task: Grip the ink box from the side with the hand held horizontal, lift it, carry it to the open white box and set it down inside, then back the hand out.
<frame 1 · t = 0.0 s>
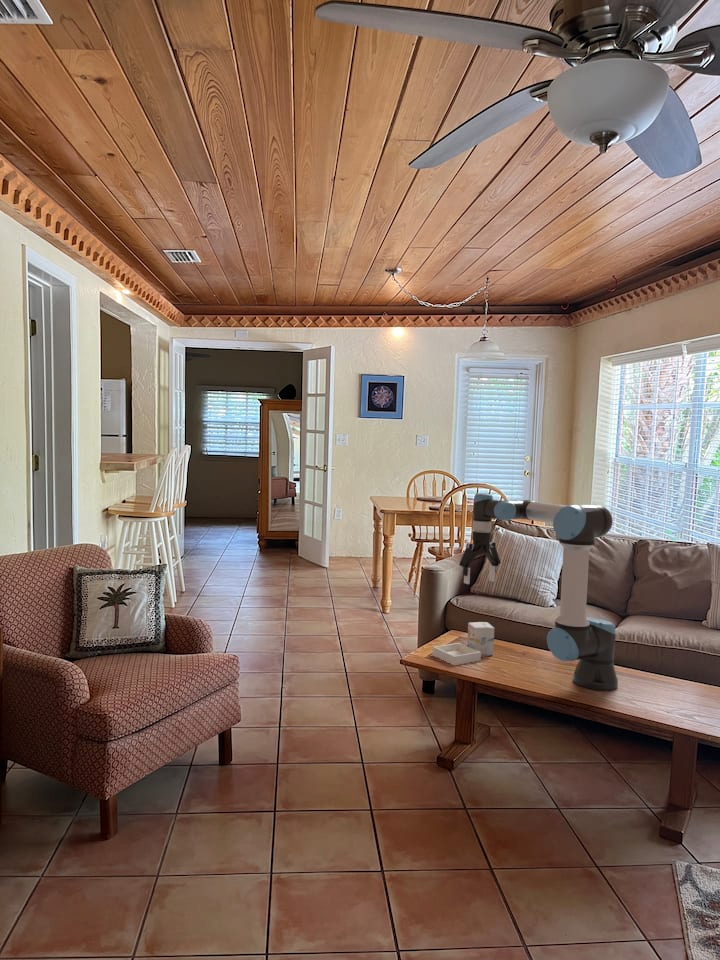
hand: (479, 582, 270), 28 cm above the table, tool pointing down, fingers open, 13 cm apart
open white box: (456, 658, 259), on the table
ink box: (479, 653, 267), on the table
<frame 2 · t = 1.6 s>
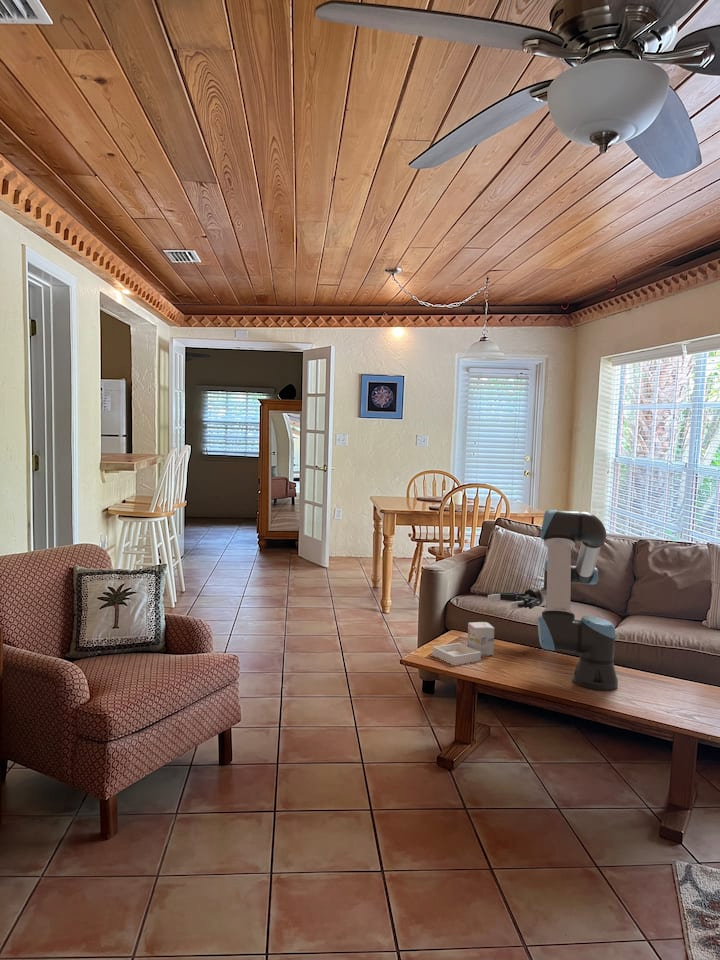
hand: (499, 602, 271), 20 cm above the table, tool horizontal, fingers open, 13 cm apart
nothing on the table moved.
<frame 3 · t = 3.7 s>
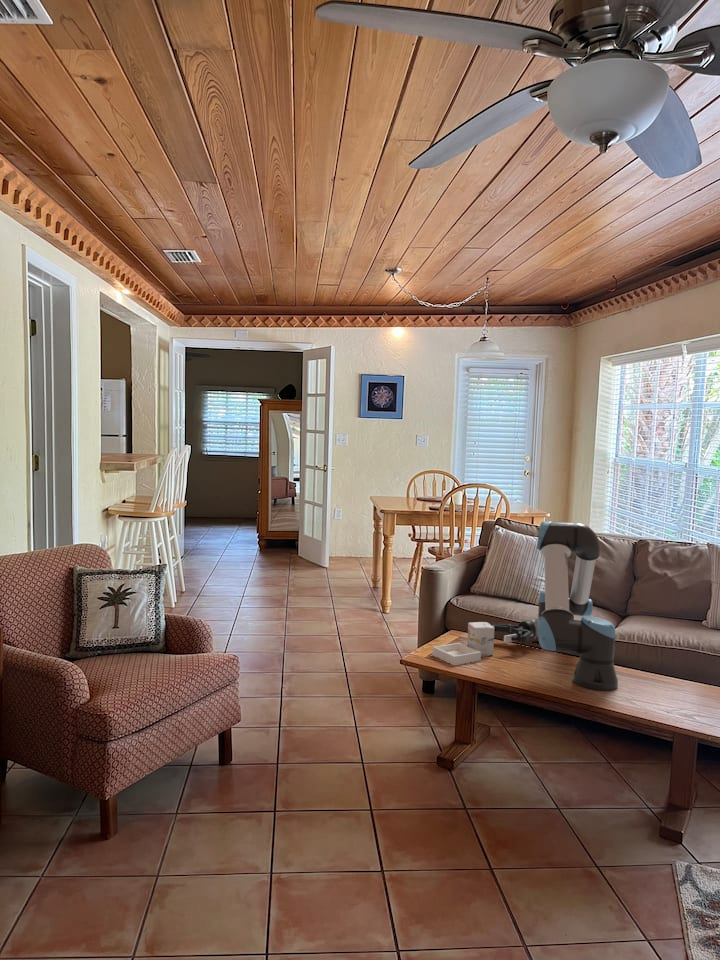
hand: (492, 634, 271), 6 cm above the table, tool horizontal, fingers open, 13 cm apart
nothing on the table moved.
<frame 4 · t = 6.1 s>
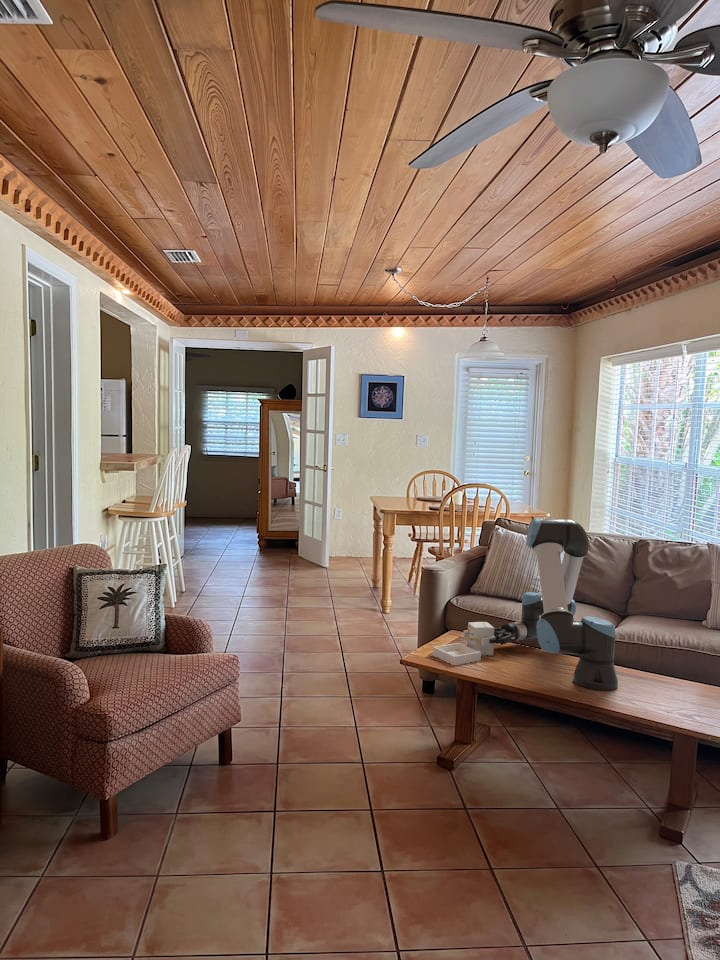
hand: (472, 638, 265), 7 cm above the table, tool horizontal, fingers closed on ink box, 10 cm apart
ink box: (479, 653, 268), on the table, touching gripper
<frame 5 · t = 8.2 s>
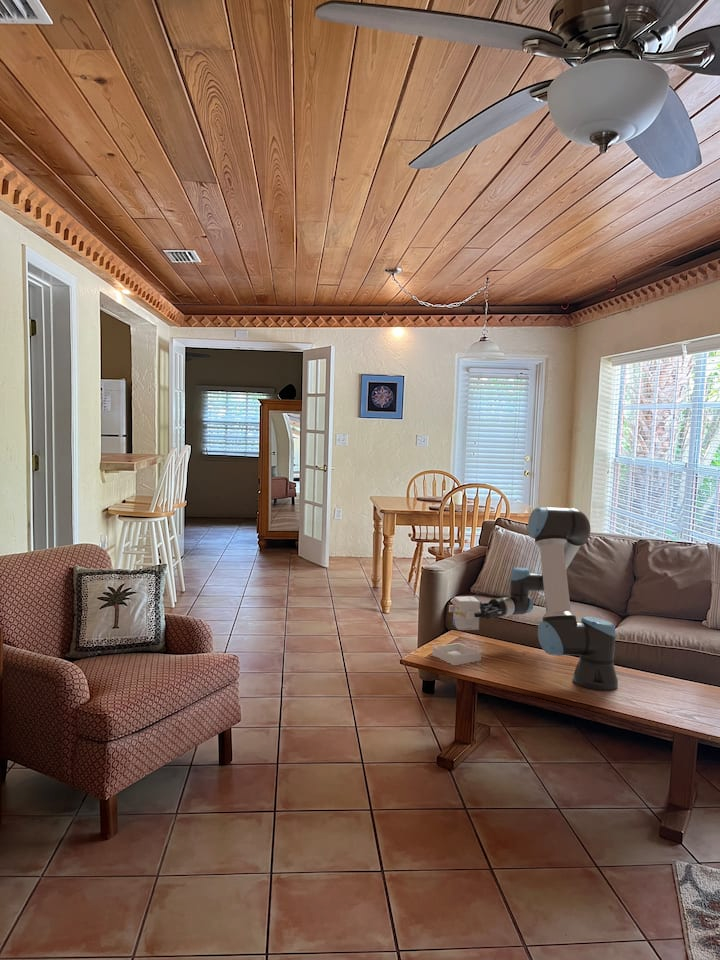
hand: (458, 612, 261), 18 cm above the table, tool horizontal, fingers closed on ink box, 10 cm apart
ink box: (465, 627, 263), point 11 cm above the table, touching gripper
when the fingers open (9 cm above the table, at t = 10.7 s): ink box drops 2 cm, resting on open white box.
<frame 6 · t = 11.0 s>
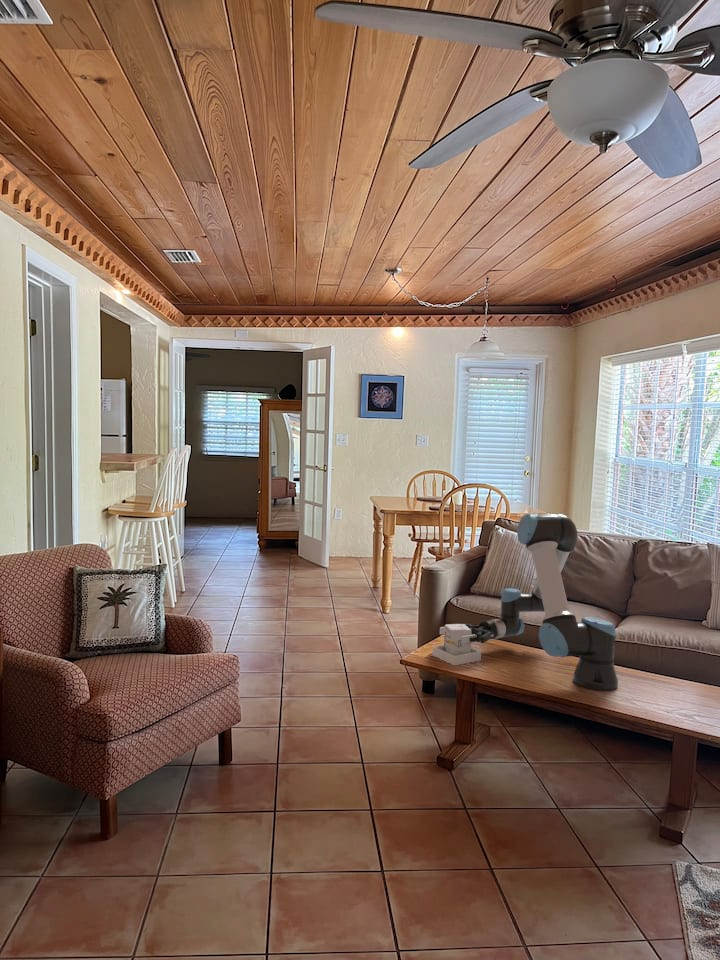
hand: (450, 635, 257), 9 cm above the table, tool horizontal, fingers open, 13 cm apart
ink box: (456, 656, 259), point 1 cm above the table, touching open white box
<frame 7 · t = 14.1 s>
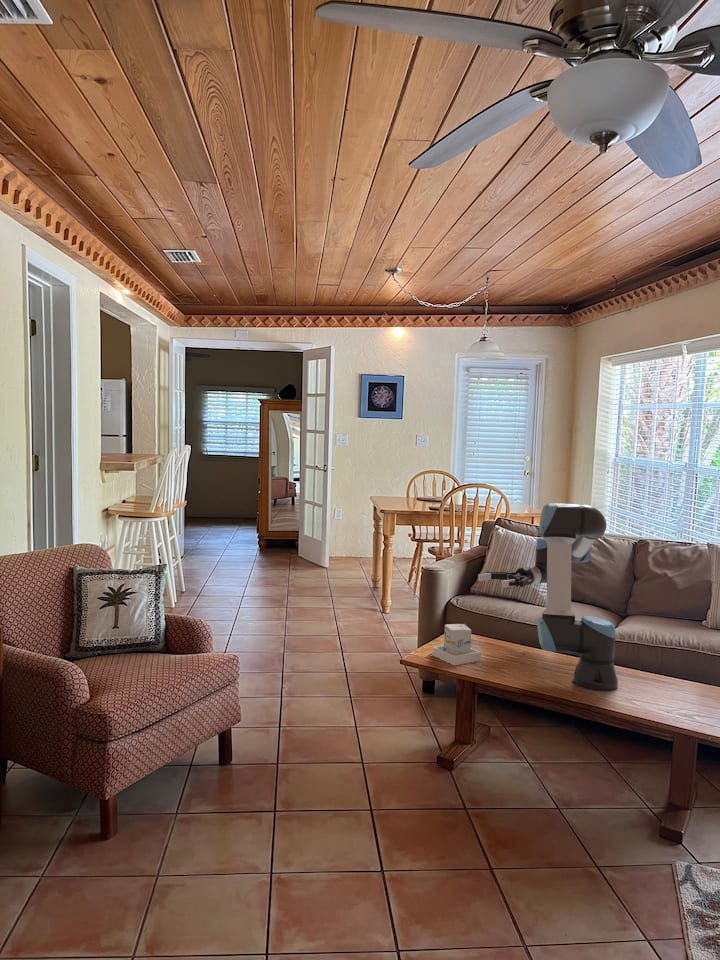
hand: (490, 581, 265), 30 cm above the table, tool horizontal, fingers open, 13 cm apart
nothing on the table moved.
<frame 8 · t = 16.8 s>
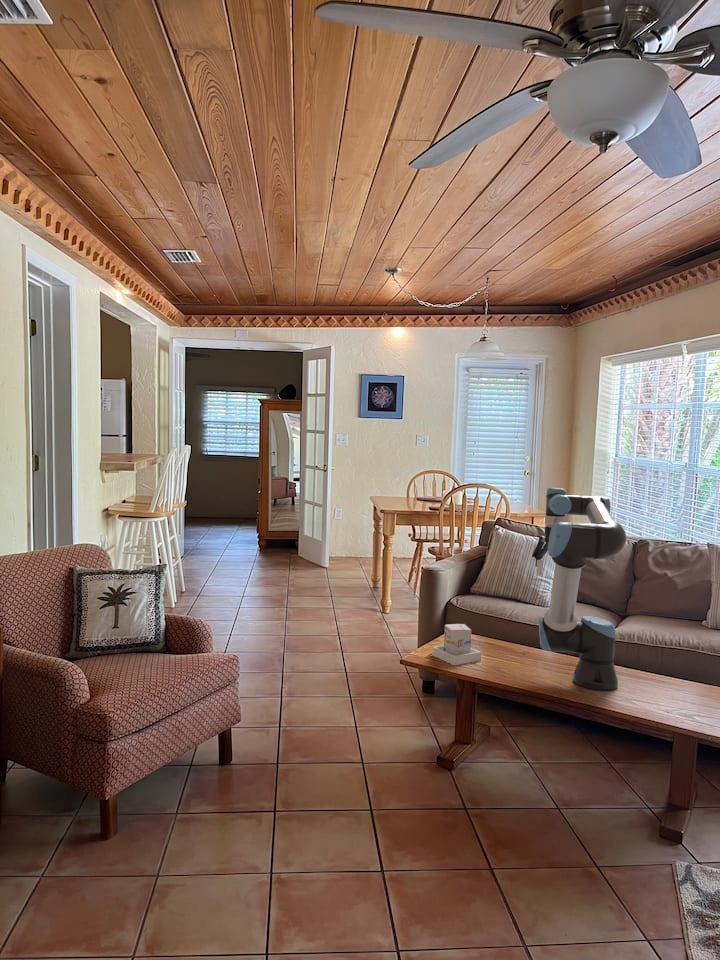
hand: (551, 578, 265), 32 cm above the table, tool pointing down, fingers open, 13 cm apart
nothing on the table moved.
at the end: ink box inside the target area on the open white box (0.0 cm from its centre), point 0.8 cm above the open white box's base; ink box tilted 0°; the gripper is holding nothing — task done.
